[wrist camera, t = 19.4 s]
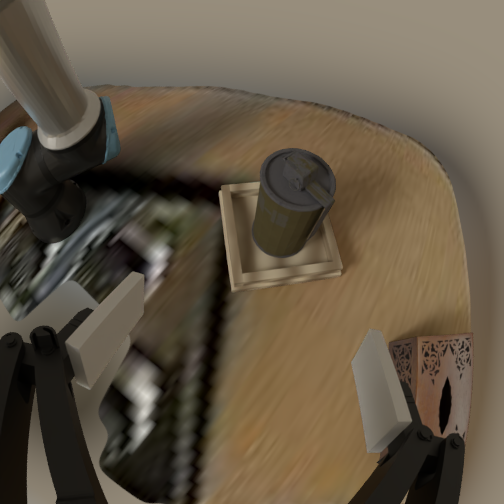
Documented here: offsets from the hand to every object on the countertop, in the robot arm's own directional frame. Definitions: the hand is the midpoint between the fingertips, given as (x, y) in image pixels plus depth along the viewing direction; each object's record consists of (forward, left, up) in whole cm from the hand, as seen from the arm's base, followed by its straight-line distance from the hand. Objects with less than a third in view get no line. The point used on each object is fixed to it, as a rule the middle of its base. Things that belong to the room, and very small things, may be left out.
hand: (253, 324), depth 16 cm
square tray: (+10, +20, -34) cm, 40 cm away
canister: (+10, +19, -32) cm, 39 cm away
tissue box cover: (+32, -19, -34) cm, 50 cm away
